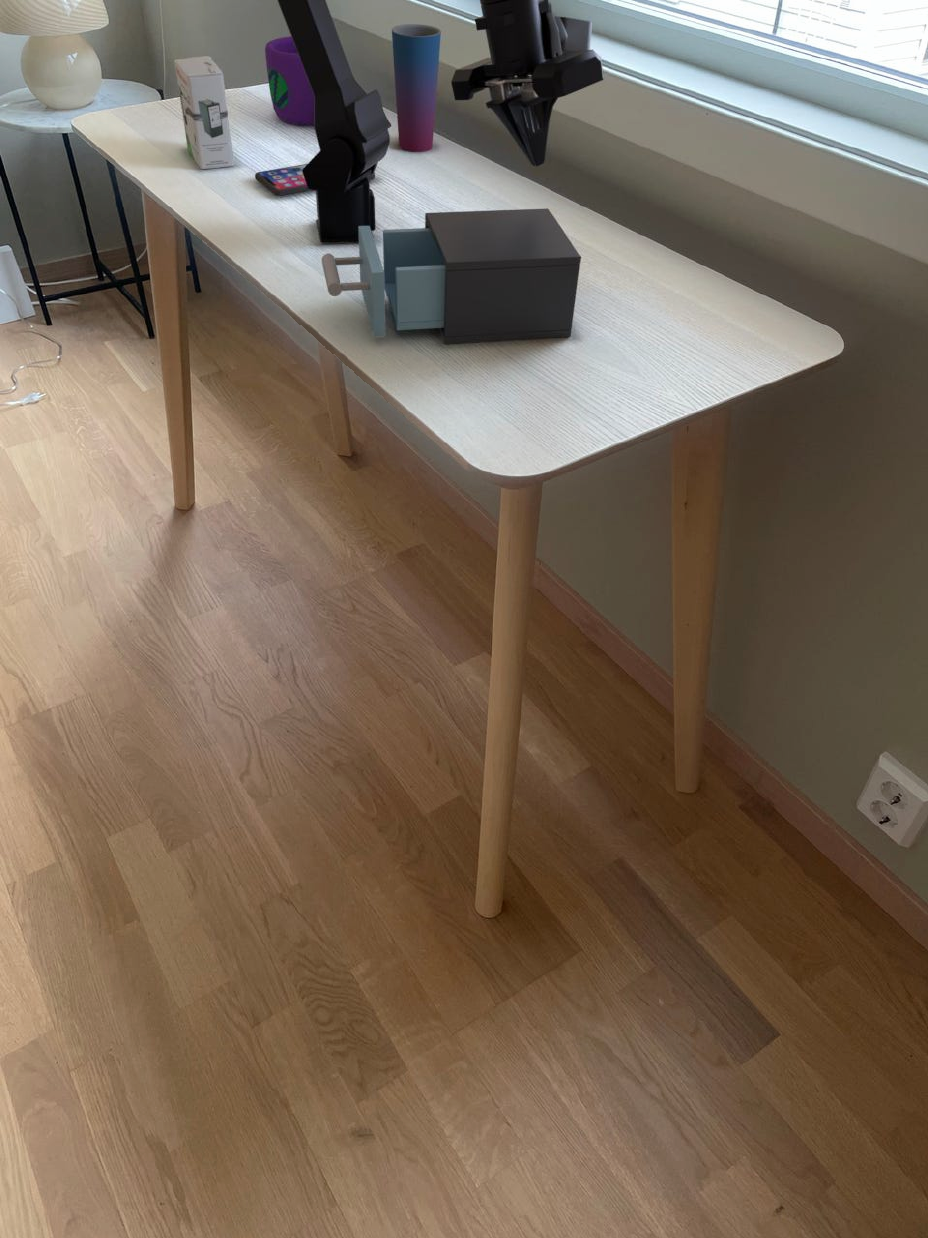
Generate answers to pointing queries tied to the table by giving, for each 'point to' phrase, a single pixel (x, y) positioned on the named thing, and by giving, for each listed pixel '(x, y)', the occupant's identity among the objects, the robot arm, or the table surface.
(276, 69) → the mug
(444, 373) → the table surface
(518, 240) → the dark grey drawer cabinet
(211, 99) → the ink box
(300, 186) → the smartphone
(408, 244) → the light blue drawer
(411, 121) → the cup
